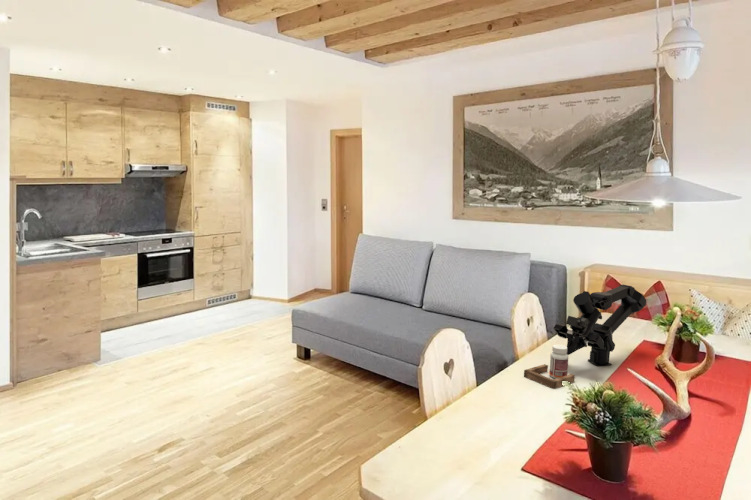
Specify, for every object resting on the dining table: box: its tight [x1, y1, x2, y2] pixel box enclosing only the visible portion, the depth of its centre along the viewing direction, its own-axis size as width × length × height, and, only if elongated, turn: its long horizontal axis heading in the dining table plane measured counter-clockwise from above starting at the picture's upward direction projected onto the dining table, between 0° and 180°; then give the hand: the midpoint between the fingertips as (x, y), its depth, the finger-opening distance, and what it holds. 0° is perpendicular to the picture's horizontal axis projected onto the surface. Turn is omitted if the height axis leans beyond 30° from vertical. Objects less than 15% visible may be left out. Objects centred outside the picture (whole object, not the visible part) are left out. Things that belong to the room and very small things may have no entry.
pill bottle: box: [549, 344, 569, 379], centre depth 190 cm, size 6×6×11 cm
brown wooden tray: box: [523, 363, 576, 390], centre depth 188 cm, size 12×13×2 cm
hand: (567, 354), depth 192 cm, fingers closed
